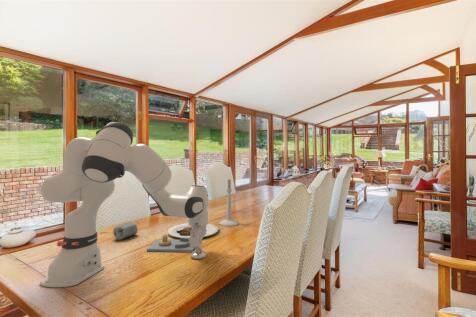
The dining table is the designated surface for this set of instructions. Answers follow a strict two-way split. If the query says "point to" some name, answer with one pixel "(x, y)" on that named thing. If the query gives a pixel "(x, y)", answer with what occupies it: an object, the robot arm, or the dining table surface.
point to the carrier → (170, 245)
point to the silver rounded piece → (198, 254)
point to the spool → (125, 230)
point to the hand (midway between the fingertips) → (198, 250)
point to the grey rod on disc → (229, 210)
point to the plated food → (185, 229)
